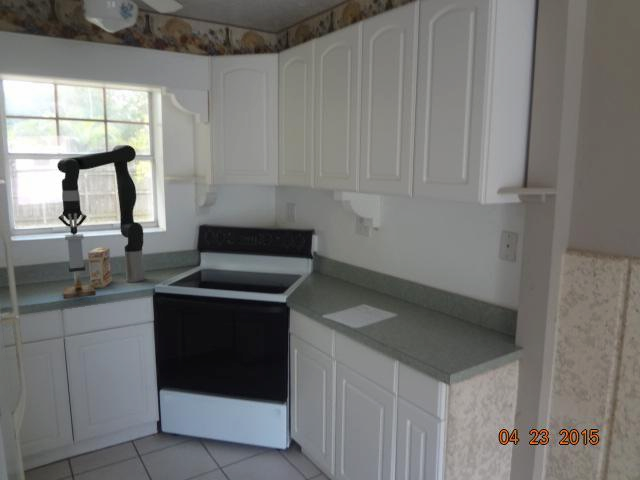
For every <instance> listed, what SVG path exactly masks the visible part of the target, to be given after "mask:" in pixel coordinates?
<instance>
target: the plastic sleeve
mask: <svg viewBox="0 0 640 480" xmlns="http://www.w3.org/2000/svg"><path fill="white" fill-rule="evenodd" d="M64 237H65V238H64V239H65V241H67V248H68V258H69V266H70V269H71V268H82V267H84V265H85V264H84V255H83V253H84V252H83V242H82V241H83V240H84V238H85V237H84V234H83V233H79V234H78V233H76V235H73V234H65V235H64Z"/></svg>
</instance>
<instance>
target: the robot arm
mask: <svg viewBox="0 0 640 480" xmlns="http://www.w3.org/2000/svg"><path fill="white" fill-rule="evenodd" d="M136 154H137V153H136V150H135V149H134V147H132V146H131V145H128V144H121V145H119V144H118V145H115V146H114V147H113V148H112V150H110V151H102V152H94V153H88V154H83V155H80V156H74V157H66V158H62V159H60V160H59V161H58V163H57V164H56V167H57V169H58V171H59V172H61V173H64V178H62V180H61V189H62V190H61V191H62V192H61V193H62V195H61V198H62V199H61V200H62V207H63V211H62V214H61V215H59V216H58V220H60V221H61V222H62V223H63V224H64V225H65V227H69V228H70V233H71V234H70V235H76V234H78V227H80V226H81V225H82V224H83V222H84V221H85V220H86V219H87V215H86V214H84V213H83V212H82V210H81V209H82V208H81V199H80V191H79V176H80V171H81V170H82V171H83V170H84V171H85V170H89V169H93V168H98V167H102V166H106V165H111V164H113V165H114V170H115V171H114V172H115V176H116V177H115V178H116V179H115V180H116V185H117V187H116V189H117V195H118V197H117V198H118V205H119V213H120V214H119V215H120V219H119V221H120V222H119V223H120V226H119V227H120V233H121V235H122V236H123V237H124V238H126V239H127V244H125V246H124V258H125V259H124V260H125V262H124V263H125V274H126V277H125V278H126V282H130V283H137V282H141V281H142V282H143V281H145V275H146V274H145V264H144V258H143V246H144V229H143V225H142V224H141V223H139V222H137V221H136V222H135V221H134V209H135V206H136V202H137V190H136V189H137V188H136V184H135V182H134V180H133V178H132V176H131V175H130V172H129V168H128V163H130V162H132V161H134V160H135V158H136ZM80 217H81V218H80ZM65 219H66V220H68V221H69V223H68V222H67V221H66V220H65ZM79 219H80V220H79ZM78 220H79V221H78ZM77 222H78V223H77Z"/></svg>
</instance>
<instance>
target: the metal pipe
mask: <svg viewBox="0 0 640 480" xmlns="http://www.w3.org/2000/svg"><path fill="white" fill-rule="evenodd" d="M73 279H74V287H75V290H82V286H83V282H82V281H83V280H82V271H75V272H73Z"/></svg>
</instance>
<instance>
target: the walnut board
mask: <svg viewBox="0 0 640 480" xmlns="http://www.w3.org/2000/svg"><path fill="white" fill-rule="evenodd" d="M95 295H96V291H95V288H94V286H93V285H91V284H89V285H82V290H75V286H71V287H63V288H62V297H63V299H73V298H80V297H81V298H82V297H89V296H95Z"/></svg>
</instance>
